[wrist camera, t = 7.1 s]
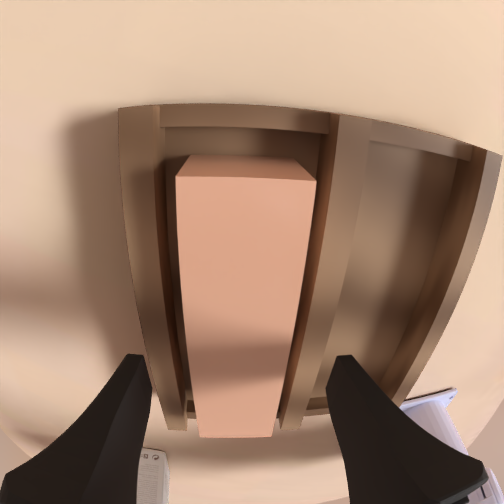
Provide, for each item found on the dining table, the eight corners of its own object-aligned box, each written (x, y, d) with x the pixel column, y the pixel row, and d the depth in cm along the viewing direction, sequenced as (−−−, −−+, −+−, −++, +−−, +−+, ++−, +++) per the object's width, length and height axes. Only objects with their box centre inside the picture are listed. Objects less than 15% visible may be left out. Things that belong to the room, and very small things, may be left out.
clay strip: (265, 390, 18) (271, 436, 15) (201, 390, 18) (199, 437, 15) (293, 158, 12) (316, 181, 9) (190, 154, 11) (175, 176, 8)
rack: (382, 384, 21) (394, 414, 18) (172, 394, 20) (168, 429, 17) (464, 142, 13) (502, 155, 10) (142, 105, 11) (118, 108, 9)
